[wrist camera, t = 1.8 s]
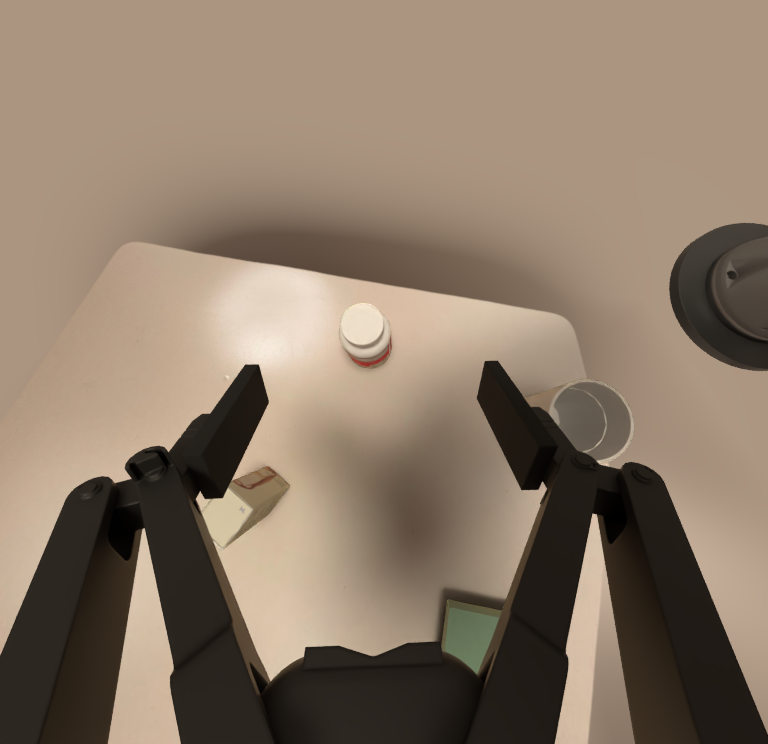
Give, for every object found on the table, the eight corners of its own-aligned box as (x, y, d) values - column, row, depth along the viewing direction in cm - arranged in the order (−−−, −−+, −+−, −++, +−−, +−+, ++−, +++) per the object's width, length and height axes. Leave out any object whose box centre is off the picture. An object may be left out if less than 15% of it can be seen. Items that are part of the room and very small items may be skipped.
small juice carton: (267, 464, 40) (225, 480, 30) (291, 485, 39) (256, 508, 29) (242, 495, 39) (190, 522, 29) (265, 517, 39) (221, 552, 29)
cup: (491, 405, 40) (533, 400, 28) (542, 380, 40) (604, 365, 28) (520, 459, 39) (576, 478, 27) (573, 433, 39) (651, 440, 27)
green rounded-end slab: (443, 586, 37) (449, 607, 33) (539, 606, 36) (557, 629, 32) (417, 792, 34) (420, 842, 30) (522, 818, 33) (540, 873, 29)
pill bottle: (358, 321, 43) (346, 288, 32) (397, 335, 42) (399, 307, 31) (342, 359, 42) (324, 339, 31) (381, 375, 41) (377, 360, 30)
